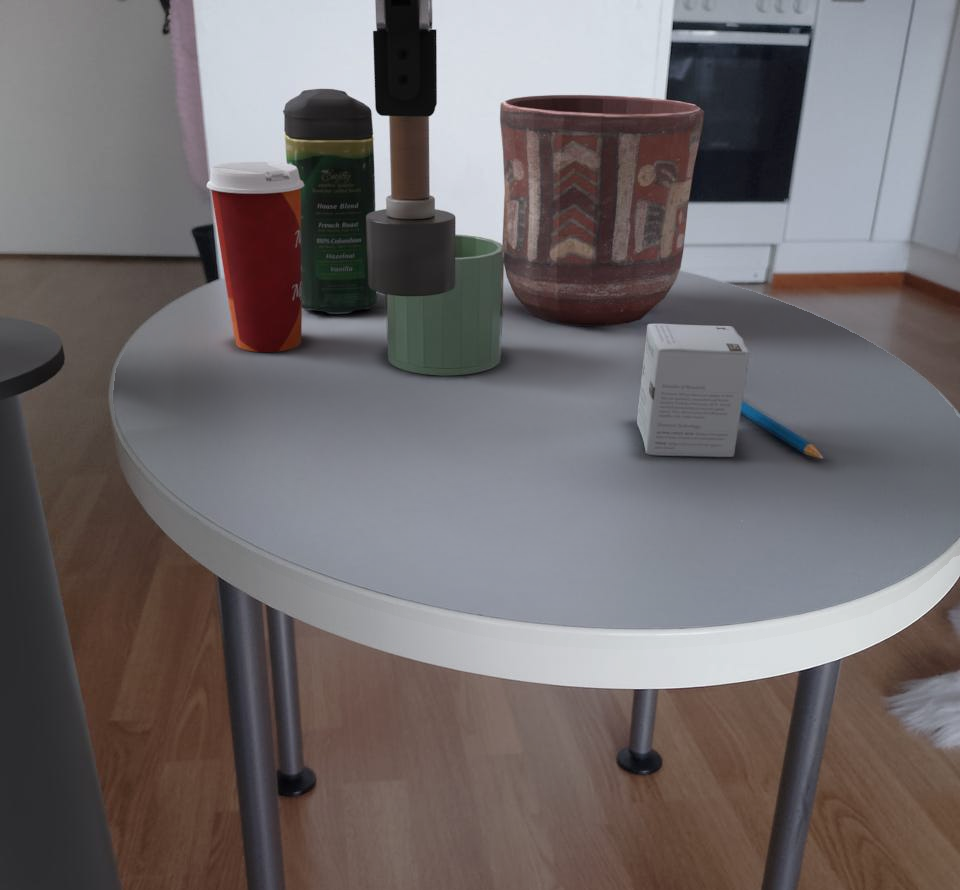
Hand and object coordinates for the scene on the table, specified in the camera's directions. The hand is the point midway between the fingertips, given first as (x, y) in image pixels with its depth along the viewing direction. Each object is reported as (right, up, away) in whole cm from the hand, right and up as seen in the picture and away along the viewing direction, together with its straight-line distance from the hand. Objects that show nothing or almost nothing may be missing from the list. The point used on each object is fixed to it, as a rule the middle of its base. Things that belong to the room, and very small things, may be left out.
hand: (406, 109), depth 60 cm
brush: (0, -8, +5) cm, 10 cm away
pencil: (+24, -14, +19) cm, 33 cm away
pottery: (+14, +2, +44) cm, 47 cm away
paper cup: (-14, -4, +33) cm, 36 cm away
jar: (+1, -6, +31) cm, 31 cm away
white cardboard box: (+18, -16, +15) cm, 29 cm away
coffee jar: (-10, +3, +45) cm, 46 cm away
